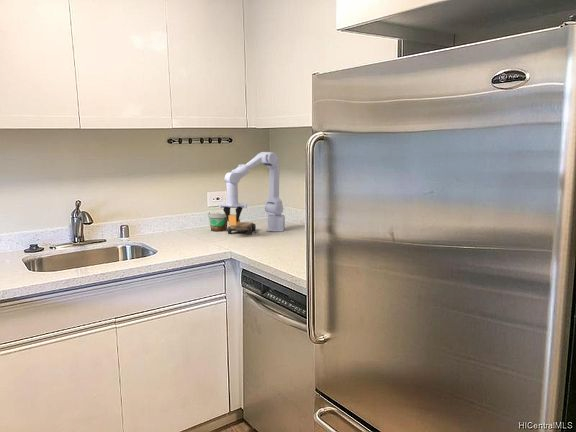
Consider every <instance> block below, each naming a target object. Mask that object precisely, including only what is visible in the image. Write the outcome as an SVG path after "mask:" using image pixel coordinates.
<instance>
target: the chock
mask: <svg viewBox="0 0 576 432" xmlns="http://www.w3.org/2000/svg"><path fill="white" fill-rule="evenodd" d="M228 216H229V222H228V226H230V225H238V224H239V223H240V222H241V219H240V218H239V222H237V221H236V214H230V215H228Z"/></svg>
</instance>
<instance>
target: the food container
mask: <svg viewBox="0 0 576 432" xmlns="http://www.w3.org/2000/svg"><path fill="white" fill-rule="evenodd" d="M207 217H208V218H209V227H210V231H211V232H216V233H218V232H226V231H228V220H227V216H226V214H225V213H211V212H208V214H207Z"/></svg>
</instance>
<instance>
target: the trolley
mask: <svg viewBox="0 0 576 432" xmlns="http://www.w3.org/2000/svg"><path fill="white" fill-rule="evenodd" d="M256 226H257V225H256V223H254V222H246V221H245V222H243V221H240V223H239V224H238V225H227V234H228V235H231V234H232V232H247V235H252V234H253V233H252V232H253V231H254V232H255V231H256V229H257V227H256Z"/></svg>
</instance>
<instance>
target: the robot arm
mask: <svg viewBox="0 0 576 432" xmlns="http://www.w3.org/2000/svg"><path fill="white" fill-rule="evenodd" d="M259 164H262V165H264V166H266V167H267V169H269V173H268V174H269V179H268V180H269V181H268V182H269V183H268V184H269V186H268V187H269V189H268V191H269V192H268V198H267V199H266V200H265V202H266V203H265V206H264V211H265V212H266V213H267V229H266V230H265V231H266V232H284V231H285V230H286V220H285V219H286V218H285V217H286V216H285V214H283V213H284V206H283V201H282V199H281V198H280V163H279V156H278V155H277V154H276V152H274V151H261V152H259V153H257V154H256V155H255V156H254V157H253V158H252V159H251V160H250V161H248V162H247V163H245V164H244V163H243V164H238V165H237V167H236V168H235V169H232V170H231V172H226V174H225V176H224V178H223V180H224V183H225V186H226V203H219V204H218V208H219V209H221V208H223V209H222V210H223V212H224V214H226V216H227V220H228V221H227V223H229V216H228V215H231V209H235V213H236V214H235V215H236V221H237V222H239V219H240V216H241V213H242V210H243V209H247V207H248V204H247V203H239V191H238V190H239V189H238V187H239V186H238V185H239V183H240V181H241V179H243V178H244V177H245V176H246V175H248V174H249V173H250V172H249V171H250V170H251V169H253V168H255V167H256V166H258V165H259Z"/></svg>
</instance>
